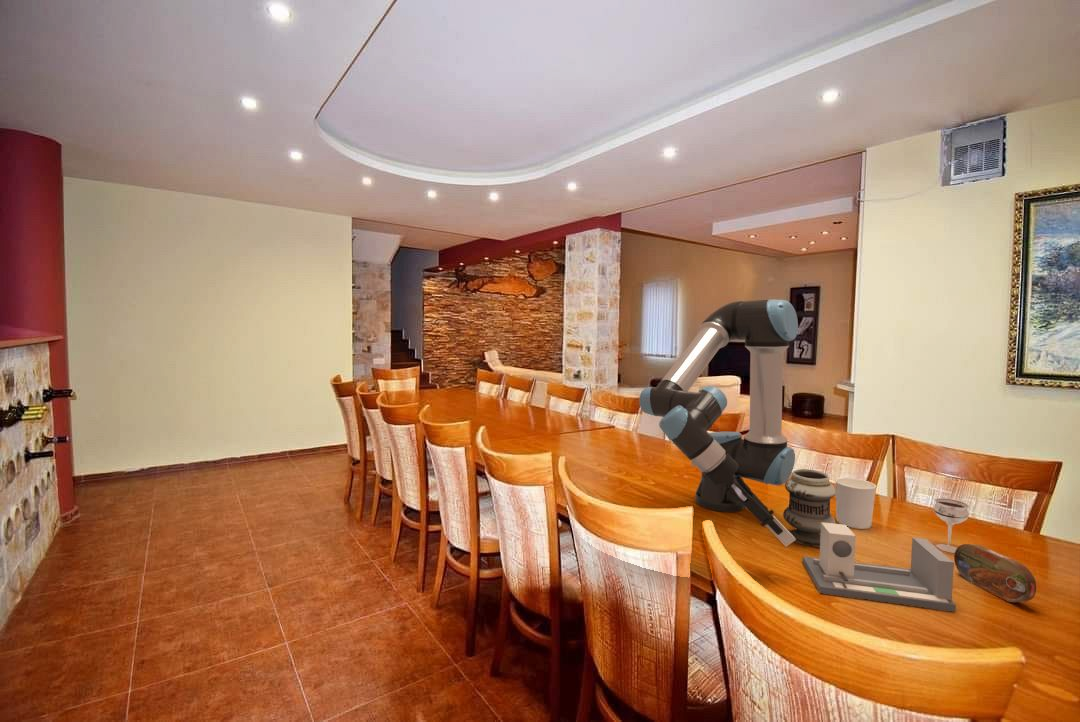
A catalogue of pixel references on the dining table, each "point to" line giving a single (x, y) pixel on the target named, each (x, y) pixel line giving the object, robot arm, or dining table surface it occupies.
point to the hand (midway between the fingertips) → (790, 541)
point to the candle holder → (854, 502)
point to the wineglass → (950, 517)
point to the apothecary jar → (808, 505)
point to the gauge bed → (895, 580)
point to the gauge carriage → (837, 550)
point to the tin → (995, 573)
